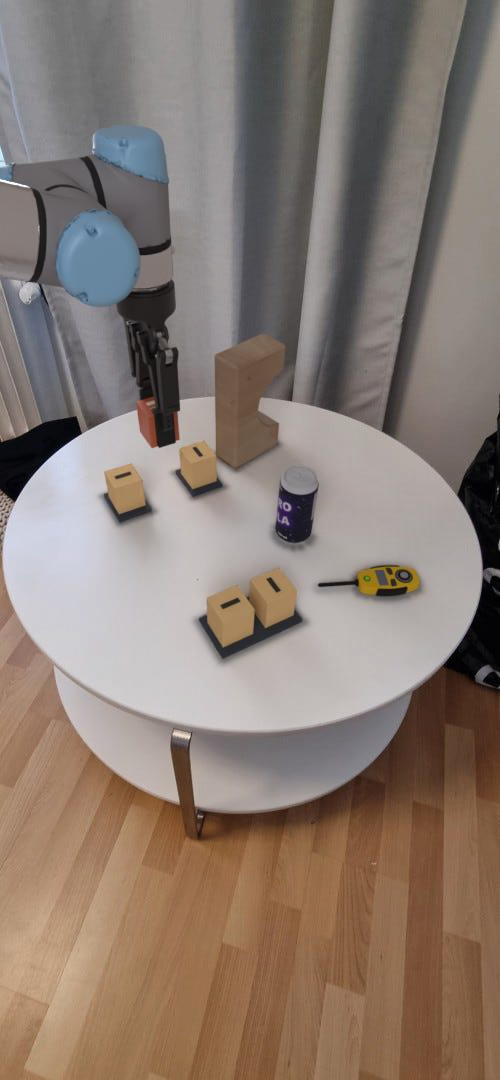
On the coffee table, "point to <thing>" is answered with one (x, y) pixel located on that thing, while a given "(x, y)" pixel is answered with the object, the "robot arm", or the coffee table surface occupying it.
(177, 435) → the pause symbol cube
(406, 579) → the yellow walkie talkie
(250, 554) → the coffee table surface
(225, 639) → the tan boxes on tray
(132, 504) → the tan cubes
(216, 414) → the decorative block
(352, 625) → the coffee table surface
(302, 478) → the beverage can
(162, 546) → the coffee table surface
